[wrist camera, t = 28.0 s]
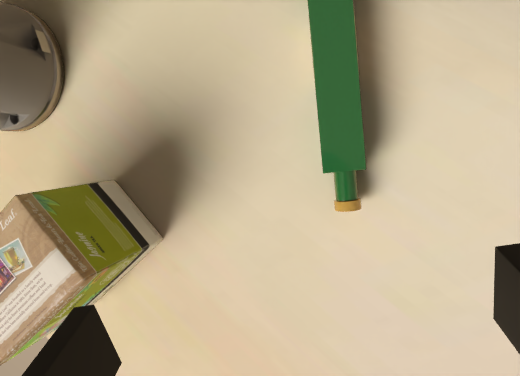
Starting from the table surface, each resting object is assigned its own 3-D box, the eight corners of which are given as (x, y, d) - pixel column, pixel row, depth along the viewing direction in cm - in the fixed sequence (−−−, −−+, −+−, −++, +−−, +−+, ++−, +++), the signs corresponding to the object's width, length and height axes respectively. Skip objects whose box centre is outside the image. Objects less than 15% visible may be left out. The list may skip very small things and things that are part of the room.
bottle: (368, 204, 39) (369, 211, 35) (328, 207, 40) (326, 214, 36) (349, -35, 37) (349, -56, 33) (307, -26, 38) (303, -45, 34)
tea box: (93, 308, 49) (-14, 377, 34) (46, 250, 49) (-78, 293, 35) (168, 238, 45) (82, 282, 31) (115, 176, 46) (8, 191, 31)
